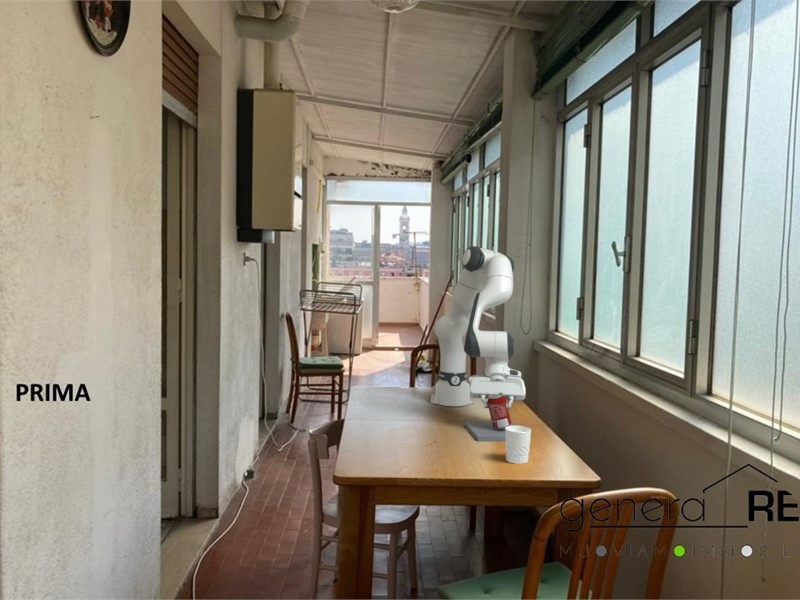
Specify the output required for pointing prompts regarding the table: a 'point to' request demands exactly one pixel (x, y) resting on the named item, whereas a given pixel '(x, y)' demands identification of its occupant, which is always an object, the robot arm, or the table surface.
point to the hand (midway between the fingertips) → (497, 407)
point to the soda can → (498, 411)
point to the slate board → (486, 431)
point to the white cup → (517, 444)
